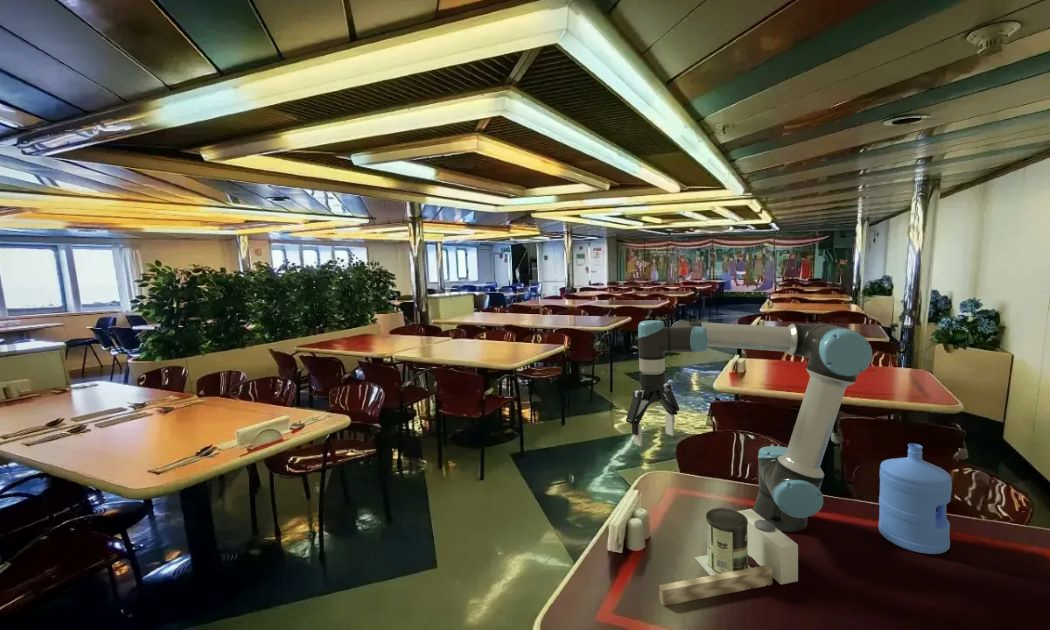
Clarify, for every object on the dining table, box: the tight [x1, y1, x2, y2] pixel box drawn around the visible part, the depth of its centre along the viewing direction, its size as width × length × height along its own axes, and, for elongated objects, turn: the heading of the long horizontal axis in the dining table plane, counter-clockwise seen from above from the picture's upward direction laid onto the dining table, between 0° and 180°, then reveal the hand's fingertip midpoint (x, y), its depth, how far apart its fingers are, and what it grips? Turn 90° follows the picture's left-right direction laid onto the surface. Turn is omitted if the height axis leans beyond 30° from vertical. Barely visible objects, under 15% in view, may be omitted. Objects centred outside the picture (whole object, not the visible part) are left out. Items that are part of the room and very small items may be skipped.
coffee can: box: [705, 507, 749, 574], centre depth 122 cm, size 10×10×14 cm
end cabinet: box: [694, 508, 799, 585], centre depth 123 cm, size 20×18×11 cm
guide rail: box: [658, 565, 773, 607], centre depth 114 cm, size 30×2×4 cm, turn 100°
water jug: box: [878, 442, 953, 555], centre depth 129 cm, size 16×16×28 cm
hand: (654, 439), depth 139 cm, fingers open, 13 cm apart
